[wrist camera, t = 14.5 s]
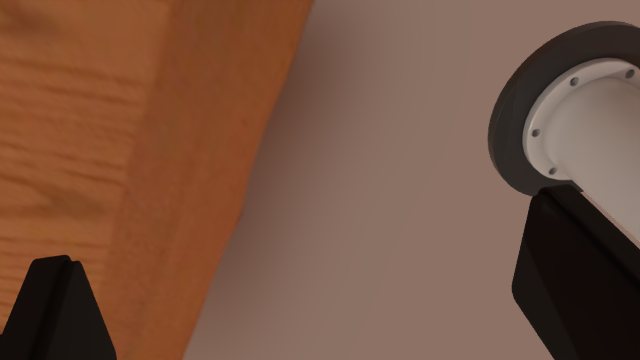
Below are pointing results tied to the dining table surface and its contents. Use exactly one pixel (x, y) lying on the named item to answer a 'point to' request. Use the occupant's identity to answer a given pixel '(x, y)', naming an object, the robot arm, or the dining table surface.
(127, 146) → the dining table surface
